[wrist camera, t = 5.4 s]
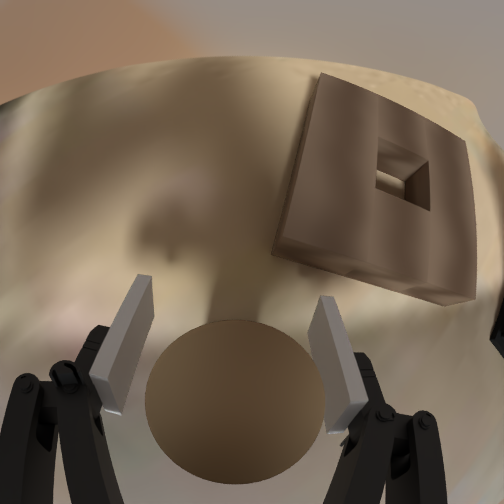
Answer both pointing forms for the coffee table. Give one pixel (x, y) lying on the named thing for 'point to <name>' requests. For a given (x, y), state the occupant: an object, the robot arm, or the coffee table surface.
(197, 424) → the oak peg
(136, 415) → the coffee table surface
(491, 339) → the chess piece
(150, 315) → the robot arm
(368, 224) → the walnut board
